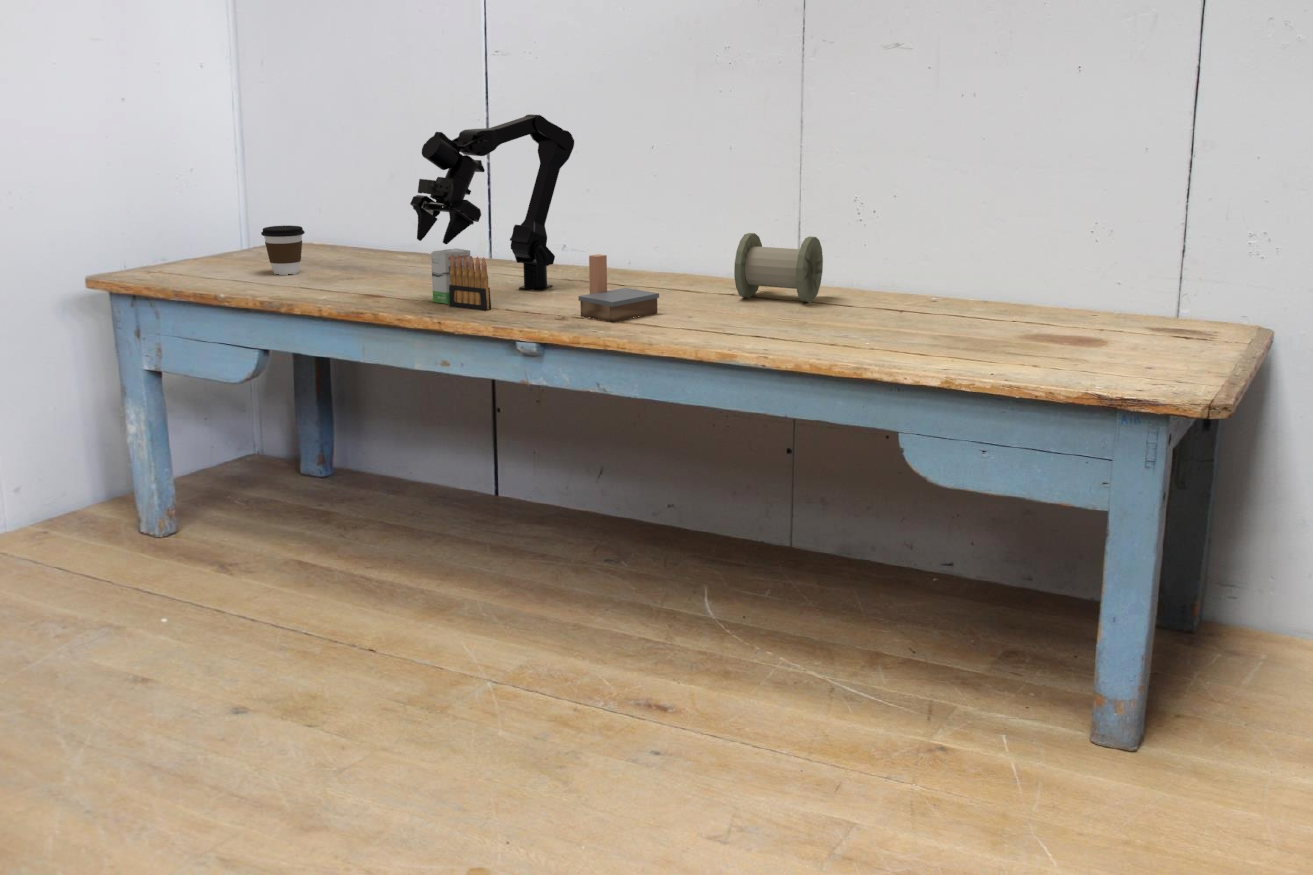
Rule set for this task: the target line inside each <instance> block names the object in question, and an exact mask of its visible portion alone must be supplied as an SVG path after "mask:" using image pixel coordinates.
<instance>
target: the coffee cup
mask: <svg viewBox="0 0 1313 875" xmlns="http://www.w3.org/2000/svg"><path fill="white" fill-rule="evenodd" d="M305 233H306V232H305V230H304V229H303V227H302V226H301V225H272V226H267V227H263V228H262V231H261V236H263V237H264V243H265V248H266V251H267V256H268V260H269V263H270V265H271V269H272V272H273V273H274V275H275V274H279V275H278V276H289V275H288V274H294V275H298V274H299V272H300V268H301V265H300V264H301V261H302V250H303V248H302V247H303V235H304V234H305Z"/></svg>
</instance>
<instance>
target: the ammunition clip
mask: <svg viewBox="0 0 1313 875" xmlns="http://www.w3.org/2000/svg"><path fill="white" fill-rule="evenodd" d="M481 259H482V260H480V258H479V256H476V258H475V261H474V258H473V256H472V255H470V260H469V268H468V261H467V257H466V256H464V259H463V270H462V261H461V257H460V255H458V257H457V271H456V262H455V257H454V255H453V254H452V256H451V263H450V264H451V267H450V285H449V304H448V305H449V308H458V309H467V310H474V311H481V312H482V311H484V312H487V311H491V310H492V302H491V301H492V299H491V287H490V286H489V275H488V269H487V261H486V258H485V257H482V258H481Z"/></svg>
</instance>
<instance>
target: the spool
mask: <svg viewBox="0 0 1313 875" xmlns="http://www.w3.org/2000/svg"><path fill="white" fill-rule="evenodd" d="M821 244H822V243H821V241H820V239H819V238H817V236H811V235H810V236H807V237H805V238H804V240H803V241H802V242H801V245H800V248H789V247H788V248H786V247H769V246H763V243H762V241H761V239H760V236H759V235H758V234H756V233H755V232H748V233H745V234H743V236H742V237H741V239H740V240H739V243H738V245H737V249H736V253H735V258H734V275H733V276H734V282H735V283H734V284H735V288H736V291H737V293H738V295H739V296H740V297H741V298H743V297H744V299H750V298H752V297H751V296H752V295H754V296H755V295H756V294H757V292H758V290H759V287H767V288H768V287H769V288H779V289H791V290H792V289H794V290H796V294H797V295H798V299H799V301H801V303H804V302H808V303H807V304H810V303H812V302H813V300H814V299H816V298H817V296H818V293H819V291H820V288H821V285H822V284H821V283H822V278H823V277H822V276H823V270H824V269H823V268H824V267H823V264H824V257H823V247H822V245H821ZM749 297H750V298H749ZM814 301H815V300H814ZM809 302H810V303H809Z"/></svg>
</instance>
